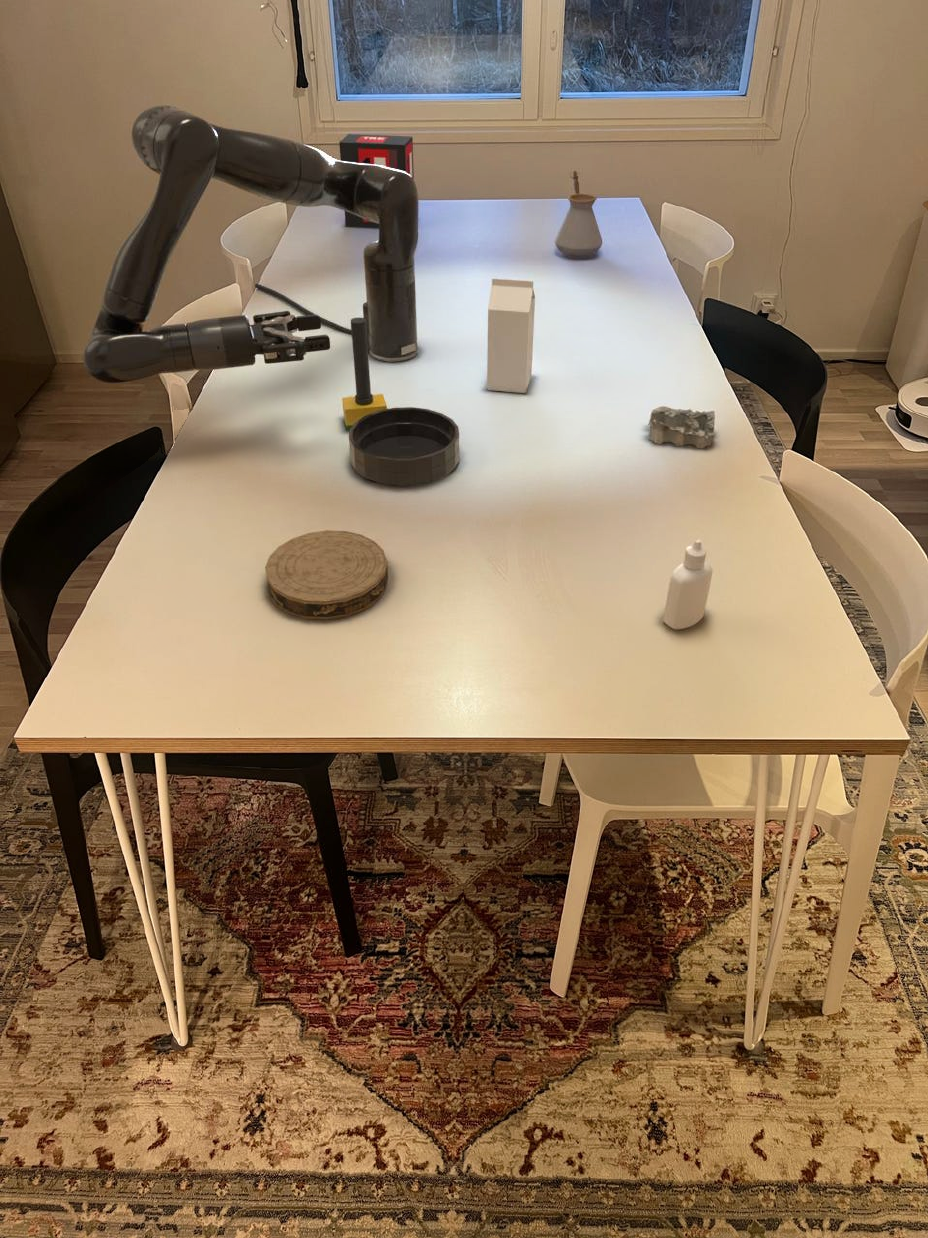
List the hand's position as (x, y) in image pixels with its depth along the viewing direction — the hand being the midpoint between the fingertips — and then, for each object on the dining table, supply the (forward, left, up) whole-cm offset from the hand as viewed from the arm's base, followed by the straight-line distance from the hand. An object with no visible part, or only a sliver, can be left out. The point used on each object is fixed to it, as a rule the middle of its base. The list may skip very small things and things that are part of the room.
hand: (324, 331), depth 149 cm
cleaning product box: (-60, +95, -17) cm, 114 cm away
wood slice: (+27, -35, -17) cm, 47 cm away
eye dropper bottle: (+70, -17, -17) cm, 73 cm away
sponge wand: (+3, +4, -17) cm, 18 cm away
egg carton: (+51, +28, -17) cm, 60 cm away
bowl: (+17, -3, -17) cm, 24 cm away
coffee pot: (-8, +105, -17) cm, 107 cm away
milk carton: (+17, +30, -17) cm, 39 cm away
